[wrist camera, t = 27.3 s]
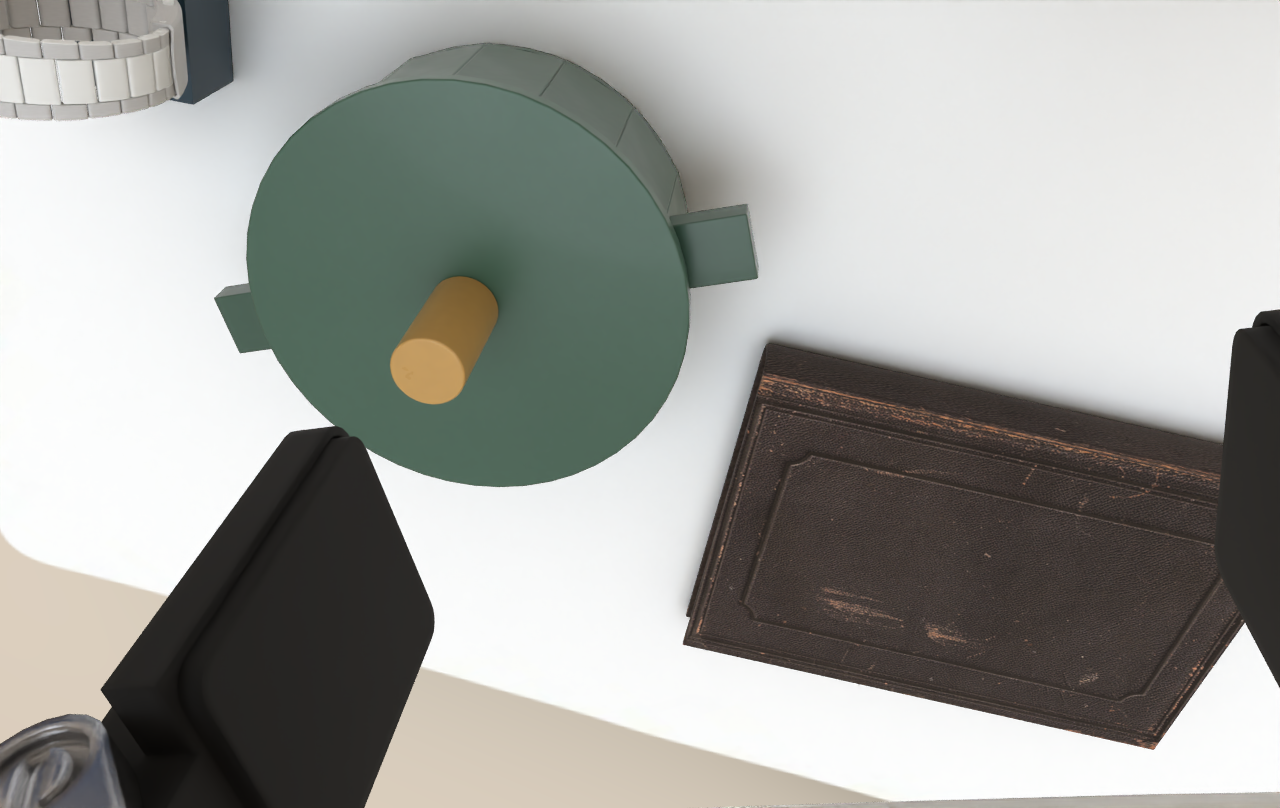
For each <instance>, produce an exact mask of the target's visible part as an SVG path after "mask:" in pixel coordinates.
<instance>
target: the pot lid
mask: <svg viewBox="0 0 1280 808" xmlns="http://www.w3.org/2000/svg"><path fill="white" fill-rule="evenodd" d="M246 260H247V269H248V279H249V287H250V291H251V295H252V299H253V303H254V307H255V311H256V314H257V316H258V319H259V322H260V324H261V327H262V330H263V332H264V335H265V337H266V339H267V341H268V343H269V345H270V347H271V348H272V350H273V352H274V354H275V356H276V358H277V360H278V361H279V363H280V364H281V366H282V367H283V369H284V370H285V372H286V373H287V375H288V376H289V378H290V379H291V381H292V382H293V383H294V384H295V386H296V387H297V388H298V389H299V390H300V392H301V393H302V394H303V395H304V396H305V397H306V399H307V400H308V401H309V402H310V403H311V404H312V405H313V406H314V407H315V408H316V409H317V410H318V411H319V412H320V413H321V414H322V415H323V416H324V417H325V418H326V419H328V420H329V421H330V422H331V423H332V424H333V425H335V426H338V427H341V428H343V429H344V430H345V431H346V432H347V433H348V434H349V436H350V437H351V436H355V437H358V438H359V439H360V440H361V441H362V442H363V444H364V446H365V447H366V448H367V449H369V450H370V451H372V452H374V453H375V454H377V455H379V456H381V457H383V458H385V459H387V460H389V461H391V462H393V463H395V464H397V465H400V466H402V467H405V468H408V469H410V470H413V471H416V472H418V473H421V474H424V475H427V476H431V477H435V478H438V479H442V480H446V481H450V482H456V483H462V484H468V485H474V486H491V487H510V486H527V485H533V484H539V483H545V482H550V481H554V480H557V479H561V478H564V477H568V476H571V475H574V474H577V473H579V472H581V471H584V470H586V469H588V468H591V467H593V466H595V465H597V464H599V463H600V462H602V461H604V460H605V459H607V458H609V457H610V456H612V455H614V454H616V453H617V452H618V451H620V450H621V449H622V448H623V447H625V446H626V445H627V444H628V443H630V442H631V441H632V440H633V439H635V438H636V437H637V436H638V435H639V434H640V433H641V432H642V431H643V429H644V428H645V427H646V426H647V425H648V424H649V423H650V422H651V421H652V420H653V419H654V417H655V416H656V414H657V413H658V411H659V410H660V408H661V407H662V406H663V404H664V403H665V401H666V400H667V398H668V396H669V394H670V392H671V390H672V388H673V386H674V384H675V382H676V380H677V377H678V374H679V371H680V368H681V365H682V362H683V359H684V355H685V351H686V345H687V339H688V332H689V326H690V289H689V281H688V274H687V267H686V264H685V260H684V257H683V253H682V250H681V246H680V242H679V239H678V237H677V235H676V232H675V230H674V228H673V226H672V223H671V221H670V219H669V216H668V214H667V212H666V210H665V209H664V207H663V205H662V204H661V202H660V200H659V199H658V197H657V195H656V194H655V192H654V190H653V189H652V187H651V186H650V184H649V183H648V182H647V181H646V179H645V178H644V177H643V176H642V174H641V173H640V172H639V171H638V169H637V168H636V167H635V166H634V164H633V163H632V162H631V161H630V160H629V159H628V158H627V157H626V156H625V155H624V154H623V153H622V152H621V151H620V150H619V149H618V148H617V147H616V146H615V145H614V144H613V143H612V142H611V141H610V140H609V139H608V138H606V137H605V136H604V135H602V134H601V133H600V132H599V131H597V130H596V129H595V128H593V127H592V126H591V125H589V124H588V123H587V122H585V121H584V120H583V119H581V118H580V117H578V116H576V115H574V114H573V113H571V112H569V111H568V110H566V109H564V108H562V107H561V106H559V105H557V104H556V103H554V102H552V101H550V100H547V99H545V98H543V97H540V96H538V95H536V94H533V93H531V92H529V91H526V90H524V89H521V88H518V87H514V86H511V85H507V84H503V83H500V82H496V81H493V80H489V79H482V78H475V77H468V76H462V75H419V76H411V77H403V78H395V79H392V80H388V81H385V82H381V83H377V84H374V85H370V86H367V87H364V88H362V89H360V90H358V91H355V92H353V93H351V94H349V95H347V96H344V97H342V98H340V99H338V100H337V101H335V102H334V103H332V104H331V105H329V106H328V107H326V108H325V109H323V110H322V111H320V112H319V113H317V114H316V115H314V116H313V117H312V118H310V119H309V120H308V121H307V122H306V123H305V124H304V125H303V126H302V127H301V128H300V129H298V130H297V131H296V132H295V133H294V134H293V135H292V136H291V137H290V138H289V139H288V141H287V142H286V143H285V144H284V146H283V147H282V148H281V150H280V151H279V152H278V153H277V155H276V156H275V157H274V159H273V160H272V162H271V164H270V166H269V168H268V170H267V171H266V173H265V175H264V177H263V179H262V181H261V183H260V186H259V189H258V191H257V194H256V197H255V200H254V203H253V206H252V210H251V216H250V221H249V226H248V232H247V257H246Z"/></svg>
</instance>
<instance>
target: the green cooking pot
mask: <svg viewBox="0 0 1280 808" xmlns="http://www.w3.org/2000/svg"><path fill="white" fill-rule="evenodd" d="M419 75H462V76H468V77H475V78H482V79H489V80H493V81H496V82H500V83H503V84H507V85H511V86H514V87H518V88H521V89H524V90H526V91H529V92H531V93H533V94H536V95H538V96H540V97H543V98H545V99H547V100H550V101H552V102H554V103H556V104H557V105H559V106H561V107H562V108H564V109H566V110H568V111H569V112H571V113H573V114H574V115H576V116H578V117H580V118H581V119H583V120H584V121H585V122H587V123H588V124H589V125H591V126H592V127H593V128H595V129H596V130H597V131H599V132H600V133H601V134H602V135H604V136H605V137H606V138H608V139H609V140H610V141H611V142H612V143H613V144H614V145H615V146H616V147H617V148H618V149H619V150H620V151H621V152H622V153H623V154H624V155H625V156H626V157H627V158H628V159H629V160H630V161H631V162H632V163H633V164H634V166H635V167H636V168H637V169H638V171H639V172H640V173H641V174H642V176H643V177H644V178H645V179H646V181H647V182H648V183H649V184H650V186H651V187H652V189H653V190H654V192H655V194H656V195H657V197H658V199H659V200H660V202H661V204H662V205H663V207H664V209H665V210H666V212H667V214H668V216H669V219H670V221H671V223H672V226H673V228H674V230H675V232H676V235H677V237H678V239H679V242H680V246H681V250H682V253H683V257H684V260H685V264H686V267H687V274H688V281H689V288H696V287H703V286H710V285H717V284H724V283H731V282H738V281H745V280H752V279H757V278H758V261H757V255H756V249H755V243H754V237H753V231H752V225H751V219H750V213H749V207H748V204H742V205H736V206H730V207H724V208H717V209H711V210H705V211H699V212H692V213H688V212H687V204H686V200H685V197H684V193H683V189H682V186H681V182H680V178H679V173H678V172H677V169H676V167H675V166H674V164H673V162H672V160H671V158H670V156H669V154H668V153H667V151H666V149H665V147H664V146H663V144H662V142H661V141H660V139H659V137H658V135H657V134H656V133H655V132H654V130H653V129H652V128H651V126H650V125H649V124H648V122H647V121H646V120H645V119H644V117H643V116H642V115H641V114H640V113H639V112H638V111H637V110H636V108H635V107H633V105H632V104H630V103H629V102H628V101H627V100H626V99H625V98H624V97H623V96H622V95H621V94H619V93H618V92H617V91H616V90H614V89H613V88H612V87H611V86H609V85H608V84H607V83H605V82H604V81H603V80H601V79H600V78H598V77H596V76H595V75H593V74H591V73H590V72H588V71H586V70H585V69H583V68H581V67H579V66H577V65H575V64H573V63H570V62H569V61H566V60H564V59H561V58H559V57H557V56H554V55H551V54H547V53H544V52H540V51H537V50H533V49H530V48H524V47H517V46H510V45H504V44H491V43H487V44H486V43H482V44H474V45H466V46H458V47H451V48H448V49H444V50H441V51H437V52H434V53H430V54H427V55H423V56H418V57H414V58H411V59H409V60H408V61H407V62H405V63H404V64H403V65H401V66H400V67H399V68H397V69H396V70H395V71H394V72H392V73H391V74H390V75H388V76H387V77H386V78H384V79H383V80H382V81H380V82H379V83H381V82H385V81H388V80H392V79H395V78H403V77H411V76H419ZM214 299H215V301H216V304H217V306H218V308H219V310H220V312H221V314H222V316H223V318H224V321H225V323H226V325H227V327H228V329H229V331H230V333H231V335H232V338H233V340H234V342H235V344H236V346H237V348H238V350H239V352H240V353H246V352H253V351H259V350H266V349H272V348H271V347H270V345H269V343H268V341H267V339H266V337H265V335H264V332H263V330H262V327H261V324H260V322H259V319H258V316H257V314H256V311H255V307H254V303H253V299H252V295H251V291H250V287H249V283H247V284H241V285H235V286H228V287H225V288H224V289H223V290H222V291H221V292H220V293H219V294H218V295H217V296H216V297H215V298H214Z"/></svg>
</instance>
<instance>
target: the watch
mask: <svg viewBox="0 0 1280 808" xmlns="http://www.w3.org/2000/svg"><path fill="white" fill-rule="evenodd" d="M37 2H38V8H39V15H40V21H41V25H40V22H39V15H38V9H37V3H36V0H0V117H1V118H11V119H15V118H17V117H18V119H19V120H52V119H53V118H54V120H55V121H70V120H84V119H88V116H89V117H90V118H100V117H108V116H114V115H120V114H121V113H124V114H126V113H131V112H135V111H140V110H143V109H147V108H149V107H154V106H157V105H159V104H162V103H164V102H165V101H166V100H173V101H178V102H183V103H188V104H193V105H194V104H195V103H197V102H199V101H200V100H202V99H204V98H205V97H207V96H209V95H210V94H212V93H214V92H216V91H217V90H219V89H221V88H222V87H224V86H226V85H227V84H229V83H231V82H232V81H233V69H232V54H231V38H230V22H229V7H228V0H37ZM61 27H62V32H63V38H64V40H62V33H61ZM30 28H31V32H30ZM31 34H32V38H31ZM40 41H41V43H40ZM41 44H42V49H41ZM42 50H43V55H42ZM55 59H56V63H57V70H58V76H59V82H60V89H61V95H62V101H63V102H61V96H60V90H59V83H58V77H57V71H56V64H55ZM95 86H96V87H95ZM96 90H97V94H96ZM97 97H98V100H97ZM86 104H87V105H86ZM51 105H52V110H51ZM87 109H88V111H87ZM52 111H53V116H52Z"/></svg>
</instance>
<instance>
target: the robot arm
mask: <svg viewBox="0 0 1280 808" xmlns="http://www.w3.org/2000/svg"><path fill="white" fill-rule="evenodd" d="M1215 556H1216V561H1217V566H1218V569H1219V572H1220V575H1221V577H1222V579H1223V581H1224V583H1225V585H1226V587H1227V589H1228V591H1229V593H1230V595H1231V597H1232V598H1233V600H1234V602H1235V604H1236V606H1237V608H1238V610H1239V612H1240V614H1241V616H1242V617H1243V619H1244V621H1245V623H1246V625H1247V627H1248V629H1249V631H1250V633H1251V634H1252V636H1253V638H1254V640H1255V642H1256V644H1257V646H1258V648H1259V650H1260V651H1261V653H1262V655H1263V657H1264V659H1265V661H1266V663H1267V665H1268V667H1269V669H1270V670H1271V672H1272V674H1273V676H1274V678H1275V680H1276V682H1277V684H1278V686H1279V687H1280V310H1271V311H1263V312H1260V313H1259V314H1258V315H1257V316H1256V318H1255V320H1254V322H1253V326H1252V328H1245V329H1239V330H1238V331H1237V332H1236V334H1235V336H1234V340H1233V345H1232V356H1231V367H1230V378H1229V389H1228V399H1227V410H1226V421H1225V432H1224V443H1223V454H1222V465H1221V475H1220V486H1219V497H1218V508H1217V519H1216V530H1215ZM433 632H434V611H433V607H432V604H431V601H430V599H429V597H428V594H427V592H426V590H425V587H424V585H423V582H422V580H421V578H420V575H419V573H418V571H417V568H416V566H415V563H414V561H413V559H412V556H411V554H410V552H409V549H408V547H407V545H406V542H405V540H404V537H403V535H402V533H401V530H400V528H399V526H398V523H397V521H396V519H395V516H394V514H393V511H392V509H391V507H390V504H389V502H388V500H387V497H386V495H385V492H384V490H383V488H382V485H381V483H380V481H379V478H378V476H377V474H376V471H375V469H374V466H373V464H372V462H371V459H370V457H369V455H368V452H367V450H366V448H365V446H364V444H363V442H362V441H361V440H360V439H359V438H358V437H355V436H351V437H350V436H349V434H348V433H347V432H346V431H345V430H344V429H343V428H341V427H338V426H333V427H325V428H317V429H308V430H300V431H294V432H290V433H289V434H288V435H287V436H286V437H285V438H284V439H283V441H282V442H281V443H280V445H279V446H278V447H277V449H276V450H275V452H274V453H273V454H272V456H271V457H270V458H269V460H268V461H267V462H266V464H265V465H264V467H263V468H262V469H261V471H260V472H259V473H258V475H257V476H256V478H255V479H254V480H253V482H252V483H251V484H250V486H249V487H248V488H247V490H246V491H245V493H244V494H243V495H242V497H241V498H240V499H239V501H238V502H237V504H236V505H235V506H234V508H233V509H232V510H231V512H230V513H229V514H228V516H227V517H226V519H225V520H224V521H223V523H222V524H221V525H220V527H219V528H218V530H217V531H216V532H215V534H214V535H213V536H212V538H211V539H210V540H209V542H208V543H207V545H206V546H205V547H204V549H203V550H202V551H201V553H200V554H199V556H198V557H197V558H196V560H195V561H194V562H193V564H192V565H191V566H190V568H189V569H188V571H187V572H186V573H185V575H184V576H183V577H182V579H181V580H180V582H179V583H178V584H177V586H176V587H175V588H174V590H173V591H172V592H171V594H170V595H169V597H168V598H167V599H166V601H165V602H164V603H163V605H162V606H161V608H160V609H159V610H158V612H157V613H156V614H155V616H154V617H153V618H152V620H151V622H150V623H149V624H148V625H147V627H146V628H145V629H144V631H143V632H142V634H141V635H140V636H139V638H138V639H137V640H136V642H135V643H134V645H133V646H132V647H131V649H130V650H129V651H128V653H127V654H126V655H125V657H124V658H123V660H122V661H121V662H120V664H119V665H118V666H117V668H116V669H115V671H114V672H113V673H112V675H111V676H110V677H109V679H108V680H107V681H106V683H105V684H104V686H103V687H102V688H101V691H102V693H103V694H104V696H105V697H106V698H107V700H108V701H109V703H110V704H111V706H112V708H111V709H110V710H109V712H108V713H107V715H106V716H105V718H104V719H103V721H102V722H101V721H100V720H97V719H95V718H93V717H91V716H89V715H80V714H79V715H76V714H67V715H64V716H59V717H55V718H51V719H47V720H44V721H42V722H40V723H37V724H35V725H33V726H30V727H28V728H26V729H23V730H22V731H20V732H18V733H17V734H15V735H14V736H12V737H10V738H9V739H7V740H5V741H4V742H2V743H1V744H0V808H364V807H365V804H366V802H367V799H368V797H369V794H370V792H371V789H372V787H373V784H374V781H375V779H376V777H377V774H378V772H379V769H380V766H381V764H382V762H383V759H384V757H385V754H386V752H387V749H388V747H389V744H390V742H391V739H392V737H393V734H394V732H395V729H396V727H397V724H398V722H399V719H400V717H401V714H402V712H403V709H404V706H405V704H406V702H407V699H408V697H409V694H410V691H411V689H412V686H413V684H414V682H415V679H416V676H417V674H418V672H419V669H420V667H421V664H422V661H423V659H424V656H425V654H426V651H427V649H428V646H429V644H430V641H431V639H432V636H433ZM716 808H1280V792H1259V793H1211V794H1148V795H1112V796H1077V797H1042V798H1007V799H972V800H936V801H901V802H866V803H836V804H806V805H776V806H748V807H747V806H746V807H745V806H744V807H716Z"/></svg>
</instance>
